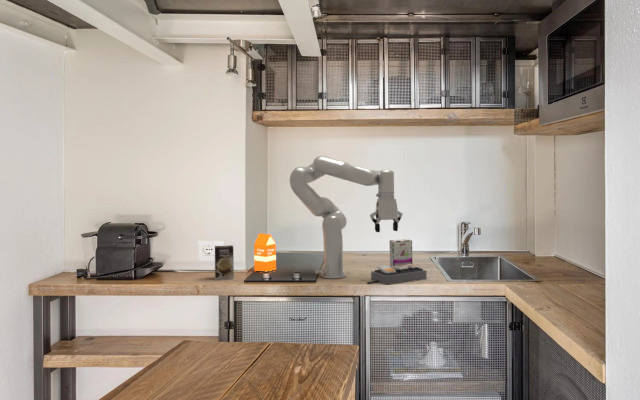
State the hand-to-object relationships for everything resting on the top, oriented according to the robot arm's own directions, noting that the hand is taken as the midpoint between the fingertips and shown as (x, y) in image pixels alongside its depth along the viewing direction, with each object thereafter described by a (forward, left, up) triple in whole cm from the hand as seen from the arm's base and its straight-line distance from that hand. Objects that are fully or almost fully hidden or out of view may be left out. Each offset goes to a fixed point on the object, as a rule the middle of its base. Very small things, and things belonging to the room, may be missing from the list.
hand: (386, 231), depth 215 cm
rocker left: (-2, -3, -18) cm, 18 cm away
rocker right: (+13, -3, -18) cm, 22 cm away
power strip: (+2, -3, -23) cm, 24 cm away
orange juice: (-44, +49, -24) cm, 70 cm away
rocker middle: (+5, -3, -18) cm, 19 cm away
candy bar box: (+18, +12, -24) cm, 32 cm away
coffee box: (-68, +43, -24) cm, 84 cm away
